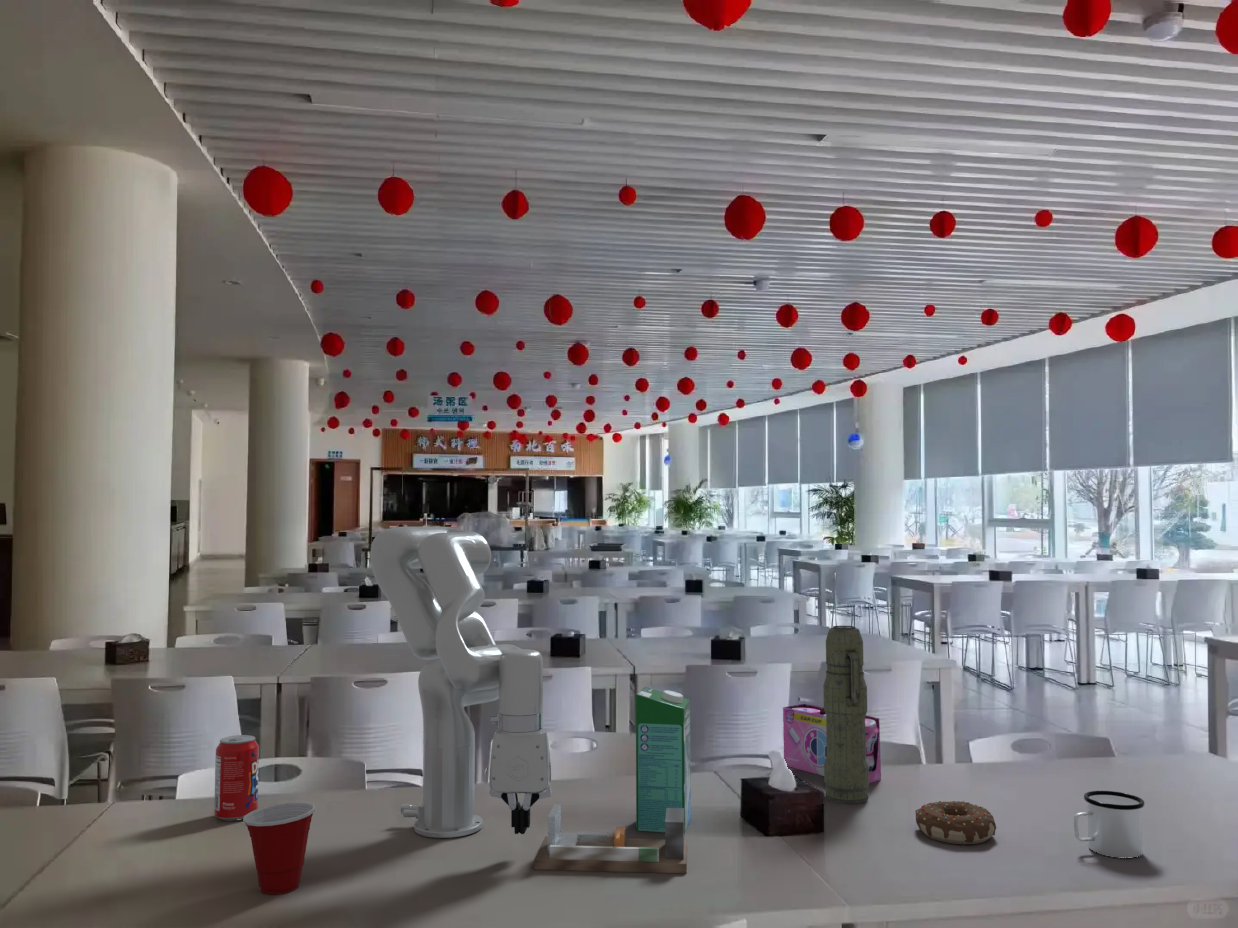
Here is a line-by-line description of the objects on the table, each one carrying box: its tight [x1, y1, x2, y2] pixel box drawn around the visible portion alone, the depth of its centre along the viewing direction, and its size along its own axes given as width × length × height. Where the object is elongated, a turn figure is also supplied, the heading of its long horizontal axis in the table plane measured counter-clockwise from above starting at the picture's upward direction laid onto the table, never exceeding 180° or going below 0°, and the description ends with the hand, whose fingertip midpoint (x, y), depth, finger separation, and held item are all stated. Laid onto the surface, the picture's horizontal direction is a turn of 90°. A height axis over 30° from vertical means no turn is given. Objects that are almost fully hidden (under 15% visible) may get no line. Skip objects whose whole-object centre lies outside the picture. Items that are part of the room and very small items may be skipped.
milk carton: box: [635, 686, 692, 834], centre depth 183 cm, size 9×9×25 cm
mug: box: [1073, 790, 1146, 858], centre depth 168 cm, size 12×10×9 cm
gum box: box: [782, 703, 882, 784], centre depth 220 cm, size 24×8×14 cm, turn 37°
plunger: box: [547, 803, 608, 853], centre depth 165 cm, size 10×7×6 cm
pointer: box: [613, 826, 626, 847], centre depth 163 cm, size 2×7×3 cm, turn 176°
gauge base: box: [533, 808, 688, 874], centre depth 165 cm, size 25×12×8 cm, turn 85°
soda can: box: [213, 734, 260, 821], centre depth 189 cm, size 8×8×15 cm
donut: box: [914, 800, 997, 845], centre depth 177 cm, size 14×14×5 cm
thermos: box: [822, 625, 870, 805], centre depth 202 cm, size 9×12×35 cm
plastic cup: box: [242, 801, 316, 895], centre depth 152 cm, size 11×11×12 cm
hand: (520, 831), depth 166 cm, fingers closed
